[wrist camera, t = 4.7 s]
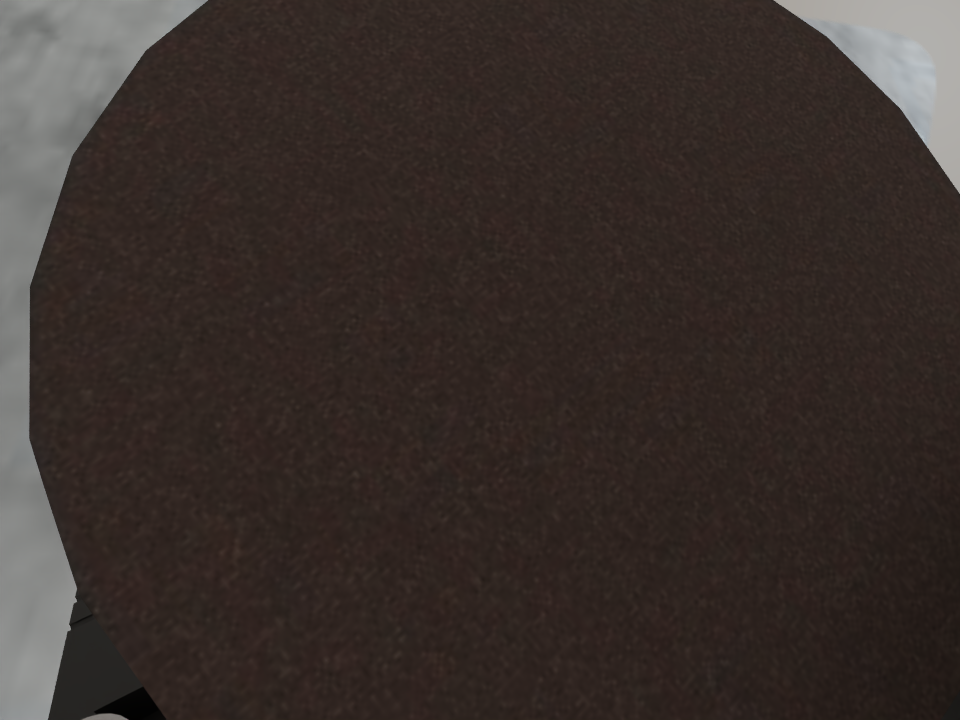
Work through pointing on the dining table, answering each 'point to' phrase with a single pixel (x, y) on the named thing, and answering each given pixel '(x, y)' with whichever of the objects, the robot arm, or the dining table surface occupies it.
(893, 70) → the dining table surface
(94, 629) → the robot arm
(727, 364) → the deodorant
